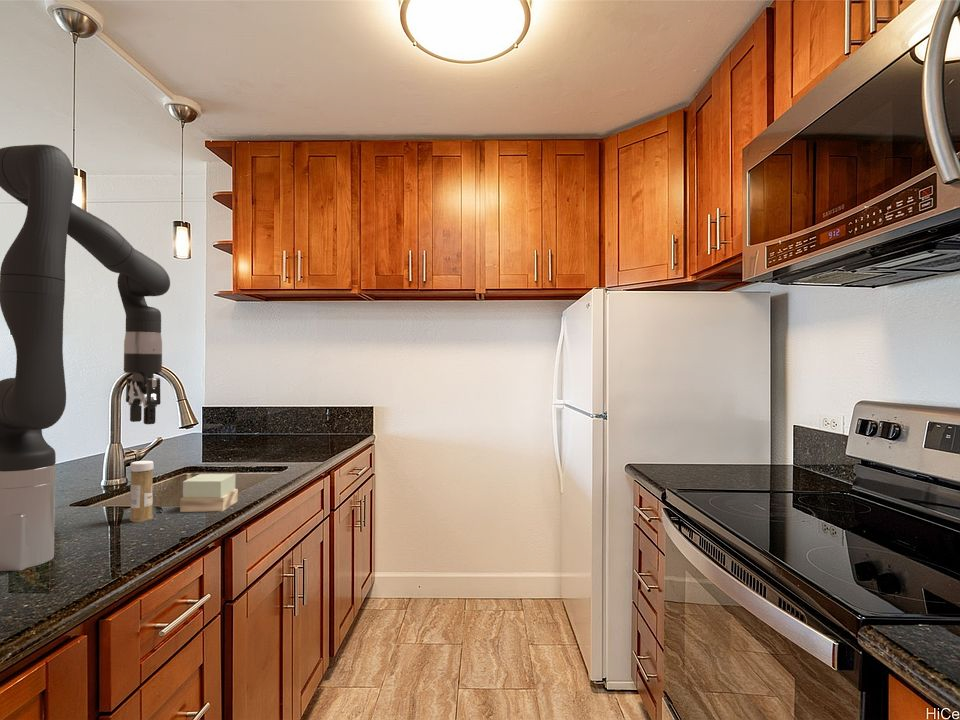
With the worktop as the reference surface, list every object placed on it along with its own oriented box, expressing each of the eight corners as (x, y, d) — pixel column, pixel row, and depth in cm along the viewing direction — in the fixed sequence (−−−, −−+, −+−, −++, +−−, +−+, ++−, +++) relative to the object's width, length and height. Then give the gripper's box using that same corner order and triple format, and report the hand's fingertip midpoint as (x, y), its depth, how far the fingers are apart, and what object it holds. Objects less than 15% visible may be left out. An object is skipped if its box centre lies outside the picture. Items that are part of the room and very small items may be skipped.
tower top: (220, 497, 135) (220, 481, 135) (182, 497, 135) (183, 481, 135) (235, 489, 144) (235, 474, 144) (199, 489, 144) (200, 474, 144)
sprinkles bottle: (155, 520, 127) (155, 461, 128) (132, 524, 124) (133, 464, 124) (149, 516, 131) (150, 459, 131) (127, 520, 128) (128, 461, 128)
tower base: (222, 514, 135) (223, 498, 135) (180, 515, 134) (180, 498, 134) (237, 504, 145) (238, 488, 145) (198, 504, 144) (198, 489, 144)
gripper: (173, 352, 126) (172, 423, 126) (149, 353, 135) (148, 419, 135) (136, 351, 120) (135, 426, 120) (114, 352, 130) (113, 421, 129)
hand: (142, 422), depth 128 cm, fingers open, 8 cm apart
